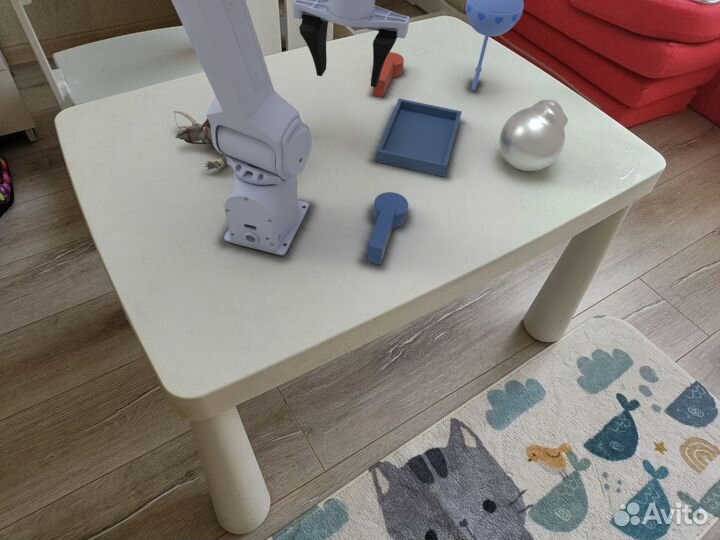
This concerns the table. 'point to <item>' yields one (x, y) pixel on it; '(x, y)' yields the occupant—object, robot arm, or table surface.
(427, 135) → the blue tray
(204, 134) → the figurine
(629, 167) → the table surface
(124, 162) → the table surface
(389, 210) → the blue spoon
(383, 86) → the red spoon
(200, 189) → the table surface
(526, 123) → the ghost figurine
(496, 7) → the baby rattle
